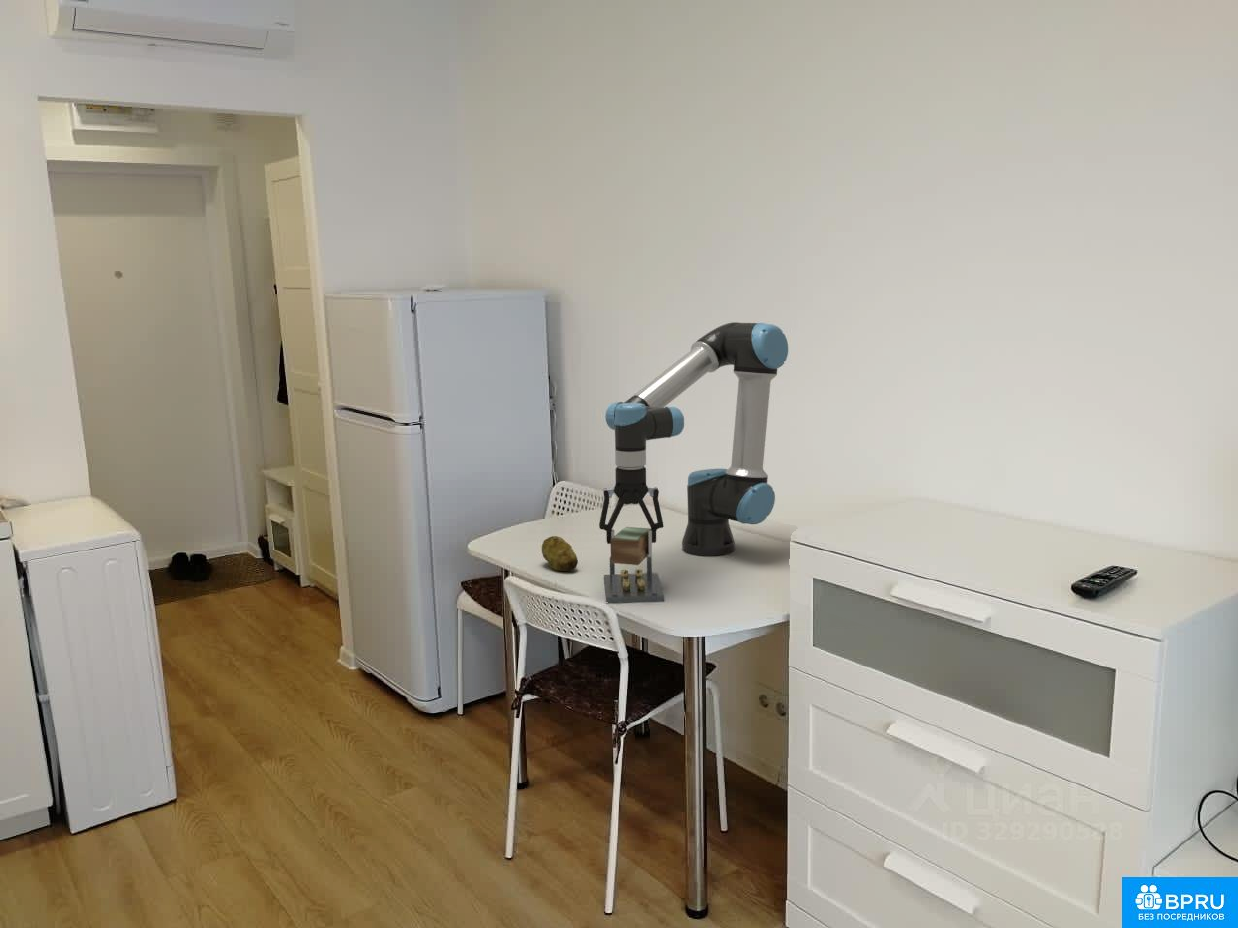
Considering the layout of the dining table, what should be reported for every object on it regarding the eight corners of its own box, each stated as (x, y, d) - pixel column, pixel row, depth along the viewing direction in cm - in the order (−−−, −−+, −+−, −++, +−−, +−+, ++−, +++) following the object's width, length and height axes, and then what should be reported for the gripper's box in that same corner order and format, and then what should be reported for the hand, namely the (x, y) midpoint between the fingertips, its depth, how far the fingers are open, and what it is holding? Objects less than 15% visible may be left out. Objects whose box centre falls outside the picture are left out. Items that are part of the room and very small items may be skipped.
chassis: (603, 580, 254) (603, 556, 252) (657, 578, 254) (657, 554, 253) (606, 603, 236) (605, 577, 235) (664, 601, 237) (663, 575, 235)
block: (625, 550, 250) (624, 526, 249) (651, 552, 248) (651, 528, 247) (610, 562, 239) (610, 538, 238) (638, 565, 237) (638, 540, 236)
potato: (549, 576, 258) (548, 546, 257) (539, 562, 271) (538, 534, 269) (579, 572, 261) (579, 543, 259) (569, 559, 273) (568, 532, 271)
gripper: (672, 462, 243) (672, 550, 247) (586, 464, 242) (588, 552, 246) (675, 468, 236) (675, 558, 240) (587, 470, 235) (589, 560, 239)
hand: (631, 555), depth 243 cm, fingers closed on block, 8 cm apart
